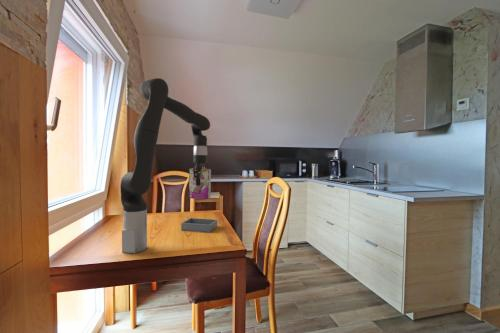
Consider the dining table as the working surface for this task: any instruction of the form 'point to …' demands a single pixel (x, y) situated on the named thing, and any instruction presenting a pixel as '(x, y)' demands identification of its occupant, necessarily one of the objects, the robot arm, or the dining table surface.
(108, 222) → the dining table surface
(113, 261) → the dining table surface
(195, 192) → the candy bar box
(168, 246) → the dining table surface
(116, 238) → the dining table surface
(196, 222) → the tray
